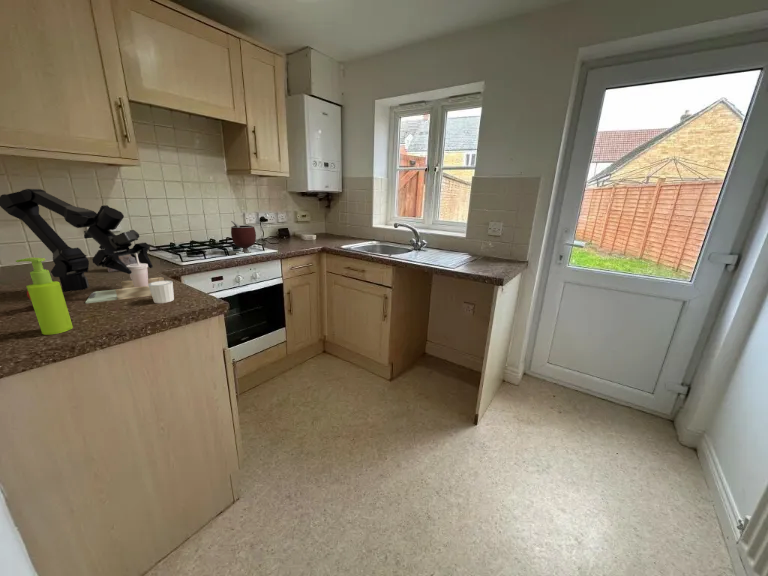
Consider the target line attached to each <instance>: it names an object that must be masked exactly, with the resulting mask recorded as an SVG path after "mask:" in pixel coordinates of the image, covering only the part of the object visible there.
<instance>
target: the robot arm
mask: <svg viewBox="0 0 768 576" xmlns="http://www.w3.org/2000/svg"><path fill="white" fill-rule="evenodd" d="M40 207H43V208H46V209H47V210H48V211H49V210H50V211H51V212H53V213H55V214H57V215H59V216H61V217H63V218H64V221H65V222H66V223H68V224H69V225H71V226H72V227H74V228H76V229H81V228H83V229H84V228H87V229H86V230H84V231H83V233H84V234H83V238H84V239H93V240H94V241H95V242H96V243H97V244H98V245H99V246H98V248H99V250H97V251H96V253H95V255H93V257H92V258H91V260H92V263H93V264H94V265H95V266H96V267H102V268H107V267H108V268H111V269H115V270H118V271H117V272H121V273H125V274H127V275H130V274H131V273H132V272H131V270H130V269H129V268H128V267H127V266H126V265H125V264H124V263H123V262H122V261H121V260H120V259H119V257H121V256H126V255H131V256H132V257H135V260H137V259H136V255H135V253H137V255H138V260H139V262H140V263H146V264H148V267H147V268H149V269H152V268H153V267H154V266H153V264H152V262H151V260H150V257H149V255H148V251H149V250H150V248H151V246H150V245H149V244H148V243H147V242H138V243H135V244H134V245H133V242H135V241H138V240H139V238H140V234H139V232H137V230H134V229H130V230H129V231H124V232H120V233H119V234H115V233H114V232H113V231H114V230H116V229H117V228H118V227H119V225H120V224H121V222H122V221H123V219H125V218H124V217H125V216H124V213H123V212H121V211H120V210H117V209H116V208H113V207H110V206H109V205H101V206H100V207H99V210H98V212H96V211H94V210H92V209H89V208H85V207H79V206H75V205H72V204H70V203H68V202H67V201H64V200H62V199H60V198H59V197H56V196H55V195H52V194H50V193H48V192H47V191H45V190H44V189H41V188H25V189H22V190H20V191H15V192H10V193H4V194H1V195H0V208H1V209H3V211H4V212H6V213H7V214H8V215H10V216H12V217H14V218H16V219H18V220H21V221H22V222H23V223H24V224H25V225H26V226H27V227H28V228H29V229H30V230H31V232H32V233H34V235H35V236H36V237H37V238H38V239H39V240H40V242H42V243H43V245H44V246H45V247H46V248H47V249H48V250H49V251H50V252H51V253H52V262H53V263H54V266H53V267H52V269H51V270H50V274H52V276H53V277H54V278H59V281H60V286H61V289H62V292H63V293H67V292H74V291H75V292H76V291H85V290H86V289H88V288H89V287H90V284H89V279H88V276H87V275H85V273H88V272H89V267H90V266H89V264H90V263H89V262H90V261H89V259H88V255H87V254H85V253H84V252H83V251H82V249H81V248H80V247H71V246H69V245H68V244H67V243H66V242H65V241H64V239H63V238H62V237H61V236H60V235H59V234H58V233H57V232H56V231H55V230H54V229H53V227H52V226H51V225H50V224H49V223H48V222H47V221H46V219H45V218H43V217H42V215H41V214H40ZM132 245H133V246H132ZM130 247H132V248H130Z"/></svg>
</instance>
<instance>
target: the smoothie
mask: <svg viewBox="0 0 768 576" xmlns="http://www.w3.org/2000/svg"><path fill="white" fill-rule="evenodd" d="M135 255H136V259H137V264H130V265H127V267H128V268H129V269H130V270H131V272H132V273H131V274H129V276H130V280H132V282H133V284H134V287H142V286H148V279H149V273H148V272H149V271H148V268H149V267H148V264H146V263H139V260H138V255H137V253H135Z"/></svg>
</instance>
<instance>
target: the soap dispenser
mask: <svg viewBox="0 0 768 576" xmlns="http://www.w3.org/2000/svg"><path fill="white" fill-rule="evenodd" d="M45 261H46V258H44V257H25V258H19V259H16V260H15V262H16V263H21V262H28V263H29V262H31V265H32V268H33V270H32V271H30V272H29V274H30V278H31V281H32V283H31V284H29V285H26V286H27V287H26V289H27V291H28V292H29V295H30V298H31V300H30V301H31V303H32V307H33V309H34V310H33V311H34V314H35V316H36V319H37V322H38V325H39V328H40V331H41V334H42V335H45V336H46V335H47V336H49V335H58V334H61V333H65V332H67V331H70V330H72V329H73V327H74V326H73V322H72V320H71V315H70V313H69V309H68V306H67V303H66V299H65V296H64V292H62V291H63V288H62V285H61V282H59V281H58V280H56V281H53V279H52V276H51V271H49V269H46V268H44V266H43V262H45Z"/></svg>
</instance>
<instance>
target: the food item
mask: <svg viewBox="0 0 768 576" xmlns="http://www.w3.org/2000/svg"><path fill="white" fill-rule="evenodd" d="M119 259H120V260H121V261H122V262H123V263H124V264H125V265H126V266H127V265H130V264H137V260H135V257H132V256H131V255H126V256H121V257H119ZM139 263H140V262H139ZM106 268H107V271H108V273H115V272H114V271H116V272H119V271H118V270H115V269H111V268H108V267H106Z"/></svg>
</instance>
